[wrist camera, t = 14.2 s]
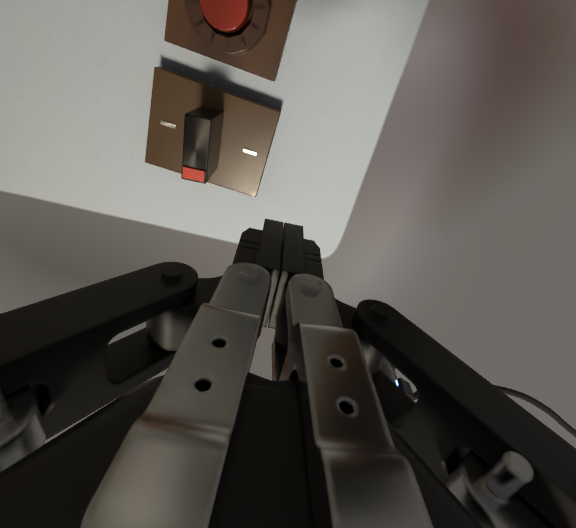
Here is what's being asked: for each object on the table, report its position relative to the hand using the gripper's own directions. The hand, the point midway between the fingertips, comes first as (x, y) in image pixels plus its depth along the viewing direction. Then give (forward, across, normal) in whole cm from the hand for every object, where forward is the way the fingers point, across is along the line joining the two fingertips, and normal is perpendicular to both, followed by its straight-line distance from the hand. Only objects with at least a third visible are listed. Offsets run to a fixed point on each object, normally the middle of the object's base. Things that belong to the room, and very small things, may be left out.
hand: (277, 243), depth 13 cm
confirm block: (+25, +7, -9) cm, 27 cm away
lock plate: (+25, +8, +2) cm, 26 cm away
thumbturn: (+23, +8, +2) cm, 24 cm away
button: (+21, +7, -9) cm, 24 cm away
